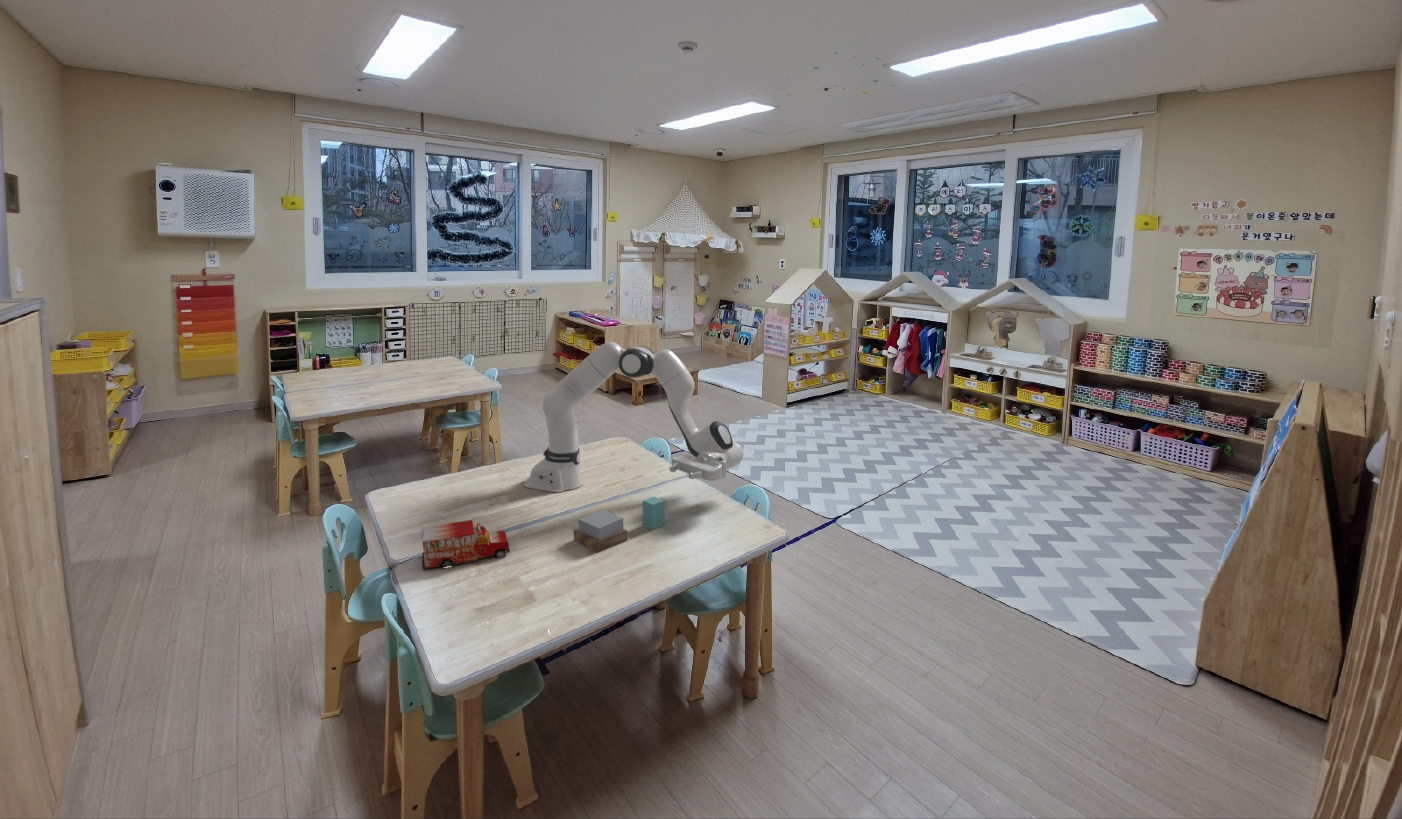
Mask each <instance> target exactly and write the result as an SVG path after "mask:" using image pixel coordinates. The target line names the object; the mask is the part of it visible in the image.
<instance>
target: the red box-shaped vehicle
mask: <svg viewBox="0 0 1402 819" xmlns="http://www.w3.org/2000/svg"><path fill="white" fill-rule="evenodd" d="M422 549H423V552H422V570H425V569H430V568H431V569H432V567H433V568H439V567H441V564H442V568H443V567H447V566H452V567H453V566H454V565H457V564H463V563H469V562H470V563H471V562H475V561H476V562H477V561H478V559H484V558H488V557H489V558H490V557H494V555H495V558H497V559H498V558H499V559H503V558H502V557H504V558H505V557H506V554H509V553H510V551H511V549H510V542H509V540H508V537H507V533H506V531H505V530H498V531H489V530H488V529H487V528H486V527H485V526H484V525H482V526H481V523H480V522H477V523H476V526H474V521H473V520H472V519H470V520H464V521H456V522H455V521H454V522H448V523H442V524H435V525H434V524H433V525H427V526H422Z"/></svg>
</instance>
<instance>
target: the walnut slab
mask: <svg viewBox="0 0 1402 819" xmlns="http://www.w3.org/2000/svg"><path fill="white" fill-rule="evenodd" d="M573 541H575V542H577V543H578V544H580V545H582V546H584V547H585V548H587V549H588V550H591V551H593V552H595V553H596V554H597V553H600V552H603V551H605V550H607V549H609V548H612V547H615V546H617V545H619V544H622V543H625V542H627V541H628V530H627V529H625V528H623V530H622V531H620V532H617V533H615V534H613V535H611V536H608V537H606V538H604V539H601V540H598V539H596V538H594V537H591V536H589V535H587V534H585V533H582V532H580V531H579V528H575V529H574V530H573Z"/></svg>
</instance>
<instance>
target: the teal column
mask: <svg viewBox="0 0 1402 819" xmlns="http://www.w3.org/2000/svg"><path fill="white" fill-rule="evenodd" d="M664 525H665V500H663V499H661V498H658V497H656V496H652V497H649V498H646V499H643V500H642V526H643V527H645V528H648V529H650V530H651V531H655V530H656V529H659V528H662V527H663V526H664Z"/></svg>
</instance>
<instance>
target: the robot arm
mask: <svg viewBox="0 0 1402 819" xmlns="http://www.w3.org/2000/svg"><path fill="white" fill-rule="evenodd" d="M619 370H620V372H621V373H622V374H623V375H624V376H626V377H628V378H631V379H637V378H641V377H644V376H647V375H650V374H651V375H653V376H654V377H655V378H656V379H657V380H658V382H659V383H660V385H661V386H662V388H663V390H664V391H665V394H666V396H667V405H668V407H669V410H670V412H671V415H672V417H673V419H674V420H675V423H676V424H677V426H678V429H679V430H680V432H681V435H682V437H683V438H684V442H685V445H686V448H687V450H688V452H689V453H690V455H689V454H684V455H682V454H681V455H678V456H675V457H672V458H671V466H670V467H669V472H671V473H676V472H677V471H680V472H683V473H686V474H688V479H691V480H694V479H703V480H705V481H708V482H715V481H718V480H721V479H725V478H726V477H727V470H730V469H732V468H735V467H736V466H738V465H739V464H741V462H742V460H743V458H744V450H743V447H742V446H741V445H740V444H739V443H737V442H736V441H735V440H734V439H733V437H732V435H731V434H732V433H731V432H730V429H729V428H728V426H727V425H726V424H725V423H723V422H721V421H718V420H715V421H712V422H711V423H709V424H706V425H705V426H704V427H702V428H700V429H699V428H697V426H696V424H695V422H694V420H693V418H692V416H691V414H690V412H689V410H688V404H689V401H690V399H691V397H692V395H693V394H694V391H695V387H696V385H695V380H694V378H693V376H692V374H691V373H690V371H689V370H688V369H687V366H685V364H684V363H683V362H682V360H681V359H680V358H679V357H678V356H677V355H676V354H675V353H674V352H673V351H672V350H671V349H668V348H667V349H660V350H659V351H657V352H655V353H654V352H653V350H652V349H650V348H649V347H647V346H643V345H641V346H640V345H639V346H632V347H629V348H626V349H624V348H623V347H622V346H621V345H620V344H619V343H617V342H614V341H607V342H605V343H603V344H601V345H600V346H599V347H597V348H596V349H595V350H593V351H592V352H591V353H590V354H589V355H588V356H586V357H585V358H584V359H583V360H582V361H581V362H580V363H579V364H577V366H575V367H574V368H573V369H572V370H571V371H570V372H569V373H568V374H567V375H565V377H563V378H562V379H561V380H560V381H559V382H558V383H556V385H555V386H554V387H552V388H551V390H549V392H547V394H545V395H544V396H545V397H544V398H543V402H542V411H543V414H544V417H545V422H546V426H547V434H548V447H546V449H545V450H544V452H542V456H543V457H544V458H543V459H541V460H540V461H539V462H537V463H536V464H535V465H534V466H533V468H532V469H531V471H530V474H529V475H530V476H529V477H528V478H526V479H525V481H524V484H523V485H524V488H527V489H533V490H539V491H544V492H545V491H546V492H550V493H551V492H552V493H562V492H564V491H570V490H574V489H575V490H576V489H577V488H580V487H582V486H583V485H584V483H585V482H584V479H583V475H582V472H581V465H580V462H581V453H580V447H579V431H578V426H577V424H576V423H577V422H576V418H575V410H576V407H578V406H579V404H581V403H582V402H583V401H584V400H585V399H586V398H587V397H588V396H590V395H591V394H592V393H593V392H595V391H596V390H597V389H598V388H599V387H601V386H602V384H604V383H605V382H606V381H607V380H608V379H609V378H610V377H611V376H612V375H613V374H615V373H616V372H617V371H619Z"/></svg>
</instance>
